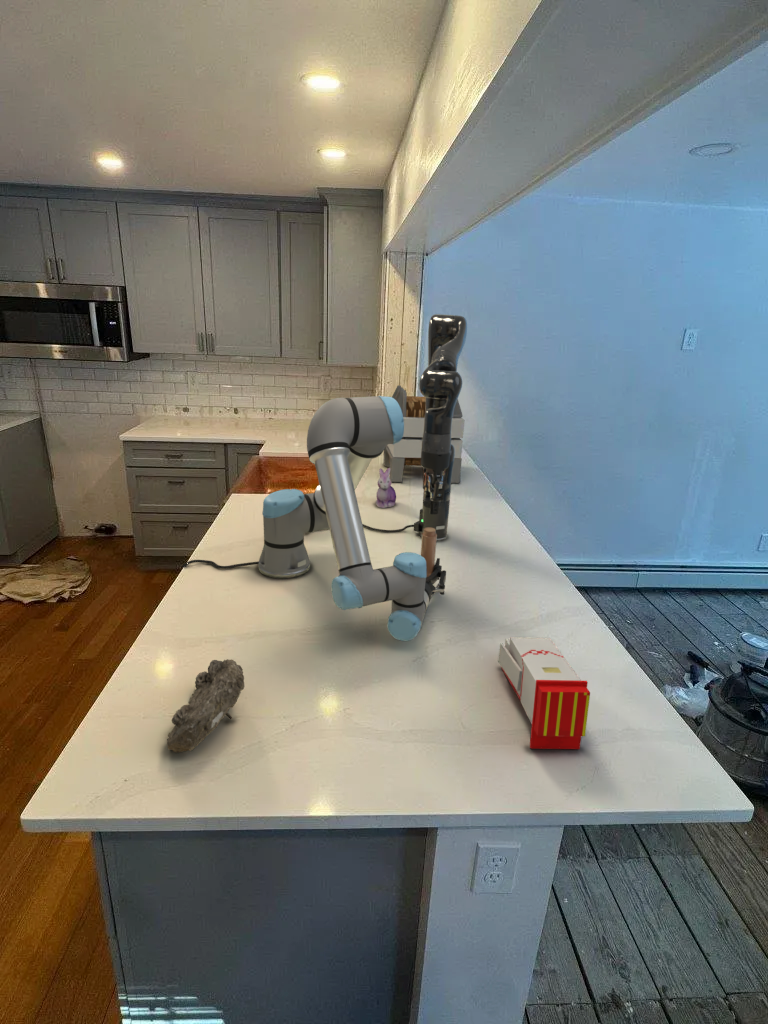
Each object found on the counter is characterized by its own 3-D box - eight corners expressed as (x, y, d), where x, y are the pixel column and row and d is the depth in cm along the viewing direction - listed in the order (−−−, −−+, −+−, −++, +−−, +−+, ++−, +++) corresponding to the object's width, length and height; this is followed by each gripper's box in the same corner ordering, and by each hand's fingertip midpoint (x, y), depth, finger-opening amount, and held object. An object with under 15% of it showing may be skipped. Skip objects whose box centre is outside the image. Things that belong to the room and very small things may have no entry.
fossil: (192, 660, 117) (244, 628, 112) (224, 691, 120) (276, 661, 115) (142, 746, 98) (202, 712, 93) (182, 779, 101) (242, 748, 96)
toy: (546, 620, 128) (599, 688, 99) (541, 675, 131) (591, 756, 102) (493, 619, 128) (531, 687, 99) (489, 674, 131) (524, 755, 101)
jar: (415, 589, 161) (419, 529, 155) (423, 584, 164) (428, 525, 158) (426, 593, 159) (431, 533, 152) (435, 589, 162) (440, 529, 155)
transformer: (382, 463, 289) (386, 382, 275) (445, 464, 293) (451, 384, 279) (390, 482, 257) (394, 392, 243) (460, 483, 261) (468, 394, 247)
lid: (440, 503, 155) (440, 497, 154) (440, 509, 150) (440, 503, 150) (423, 502, 155) (423, 496, 155) (422, 507, 151) (422, 502, 150)
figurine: (380, 509, 222) (382, 473, 217) (369, 501, 231) (370, 466, 226) (401, 507, 226) (404, 470, 221) (389, 499, 235) (391, 464, 230)
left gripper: (381, 606, 146) (400, 568, 167) (447, 616, 142) (458, 577, 164) (382, 580, 143) (401, 545, 165) (449, 590, 140) (460, 553, 161)
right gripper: (415, 442, 153) (411, 502, 159) (429, 456, 140) (424, 520, 146) (441, 442, 155) (437, 501, 161) (458, 455, 141) (452, 519, 147)
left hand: (429, 561), depth 164 cm, fingers closed on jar, 4 cm apart
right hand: (431, 510), depth 153 cm, fingers closed on lid, 4 cm apart
